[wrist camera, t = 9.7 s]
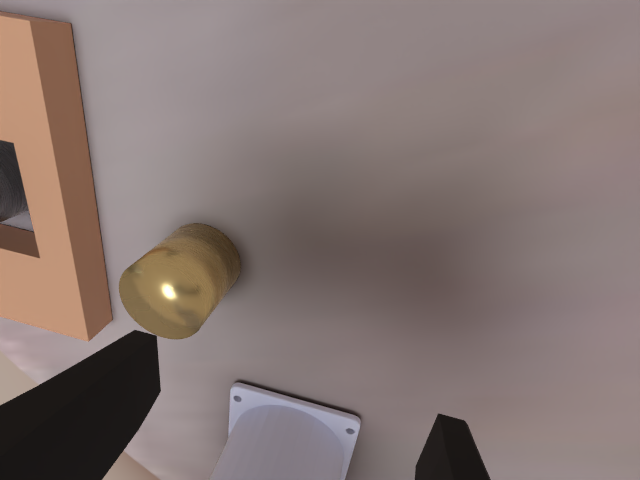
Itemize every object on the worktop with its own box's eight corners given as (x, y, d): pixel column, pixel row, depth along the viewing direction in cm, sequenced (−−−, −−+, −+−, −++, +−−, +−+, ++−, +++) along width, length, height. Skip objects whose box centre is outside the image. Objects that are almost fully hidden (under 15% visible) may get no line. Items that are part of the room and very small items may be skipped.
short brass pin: (239, 298, 21) (204, 348, 18) (170, 280, 22) (123, 326, 18) (242, 233, 19) (204, 274, 16) (167, 215, 20) (114, 252, 16)
